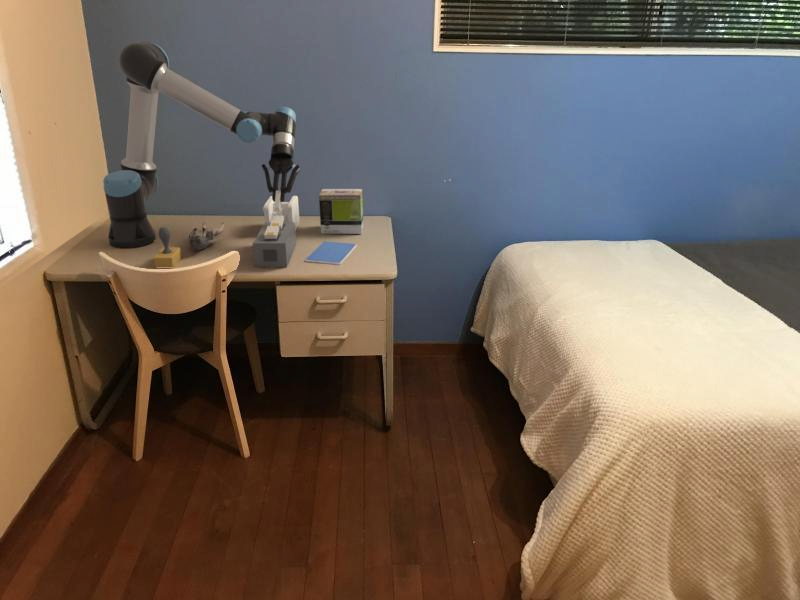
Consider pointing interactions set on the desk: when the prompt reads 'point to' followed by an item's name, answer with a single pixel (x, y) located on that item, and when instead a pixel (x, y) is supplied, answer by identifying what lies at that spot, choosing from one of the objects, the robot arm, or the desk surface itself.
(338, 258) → the blue flat rectangular pad
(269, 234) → the block
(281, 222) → the back rocker
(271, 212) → the cable organizer
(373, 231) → the desk surface
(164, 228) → the rubber stamp
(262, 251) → the rocker switch panel
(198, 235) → the anime figure
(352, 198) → the tea box
